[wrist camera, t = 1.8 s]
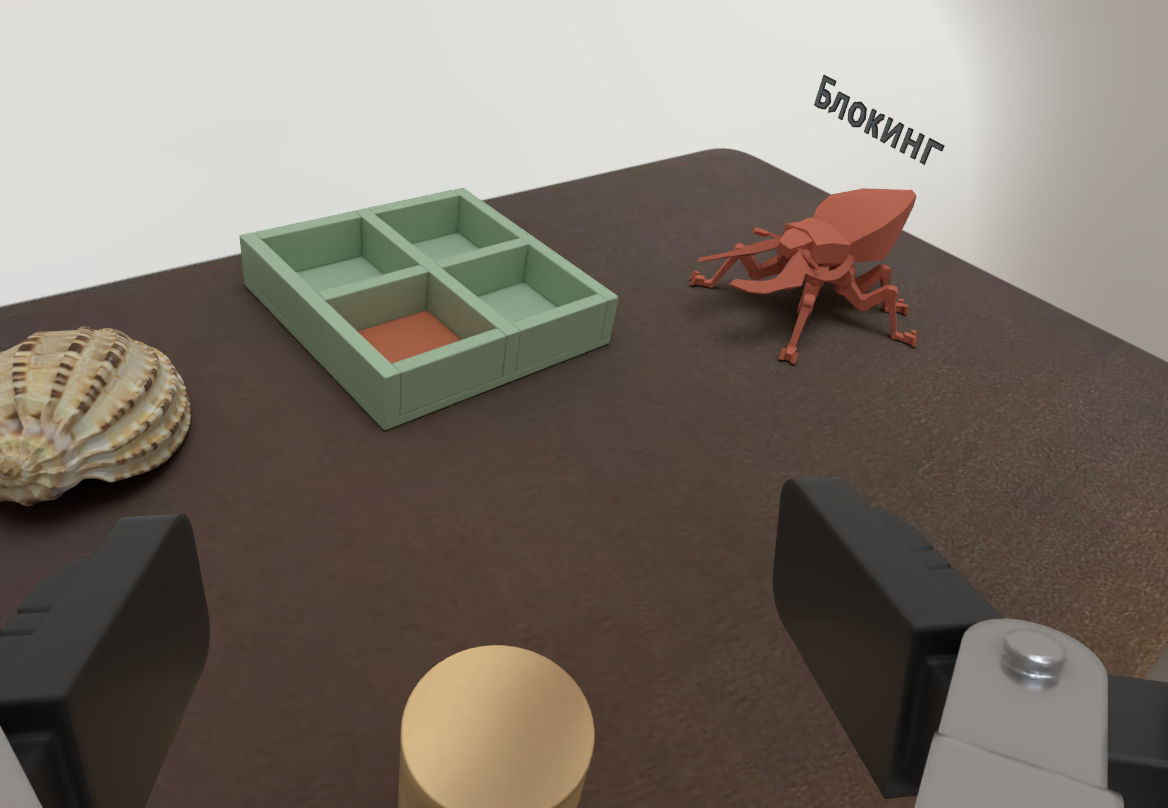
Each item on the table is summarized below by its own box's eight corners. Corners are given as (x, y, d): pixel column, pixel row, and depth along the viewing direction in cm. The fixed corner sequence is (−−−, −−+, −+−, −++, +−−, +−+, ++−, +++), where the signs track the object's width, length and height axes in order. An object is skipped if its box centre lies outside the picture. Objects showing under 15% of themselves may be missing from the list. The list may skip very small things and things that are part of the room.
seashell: (7, 454, 38) (-61, 536, 29) (-19, 319, 37) (-98, 362, 28) (198, 433, 41) (190, 503, 32) (181, 306, 39) (168, 342, 30)
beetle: (810, 243, 61) (873, 59, 53) (947, 338, 53) (1045, 139, 45) (637, 275, 53) (681, 68, 46) (768, 391, 46) (848, 165, 38)
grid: (384, 431, 39) (384, 378, 37) (244, 285, 46) (239, 234, 44) (609, 343, 47) (619, 296, 45) (460, 231, 54) (463, 187, 53)
